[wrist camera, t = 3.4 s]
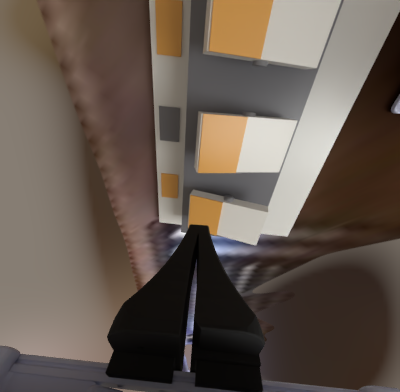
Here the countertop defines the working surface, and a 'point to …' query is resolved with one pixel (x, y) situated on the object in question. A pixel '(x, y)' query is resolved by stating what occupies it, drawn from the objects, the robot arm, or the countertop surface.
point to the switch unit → (255, 105)
